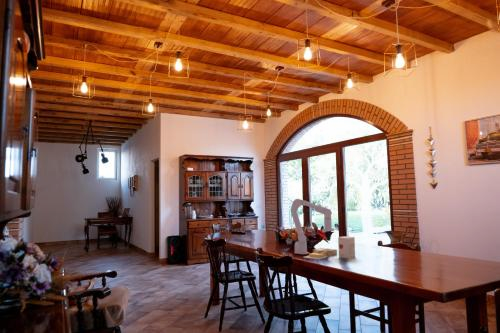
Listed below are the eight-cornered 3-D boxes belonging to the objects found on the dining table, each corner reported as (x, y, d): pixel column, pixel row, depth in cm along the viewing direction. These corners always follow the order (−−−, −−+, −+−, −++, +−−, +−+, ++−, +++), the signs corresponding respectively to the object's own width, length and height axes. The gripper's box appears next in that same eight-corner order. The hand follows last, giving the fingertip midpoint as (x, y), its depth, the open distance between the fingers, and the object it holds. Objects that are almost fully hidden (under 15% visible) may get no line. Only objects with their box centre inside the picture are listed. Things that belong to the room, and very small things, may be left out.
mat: (303, 257, 269) (302, 257, 269) (312, 255, 278) (312, 254, 278) (318, 259, 259) (318, 258, 259) (328, 256, 268) (328, 256, 268)
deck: (313, 255, 278) (313, 249, 279) (321, 253, 287) (321, 248, 287) (328, 256, 269) (328, 251, 269) (337, 254, 277) (336, 249, 277)
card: (313, 252, 274) (313, 255, 274) (309, 253, 270) (309, 256, 270) (323, 254, 268) (323, 256, 268) (319, 255, 264) (319, 257, 264)
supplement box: (338, 257, 265) (337, 237, 266) (345, 256, 271) (344, 236, 272) (349, 258, 258) (348, 238, 259) (355, 257, 264) (354, 236, 265)
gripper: (327, 224, 280) (328, 241, 278) (336, 223, 290) (337, 240, 289) (319, 224, 284) (320, 241, 283) (329, 222, 295) (330, 239, 294)
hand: (328, 240), depth 286 cm, fingers closed
